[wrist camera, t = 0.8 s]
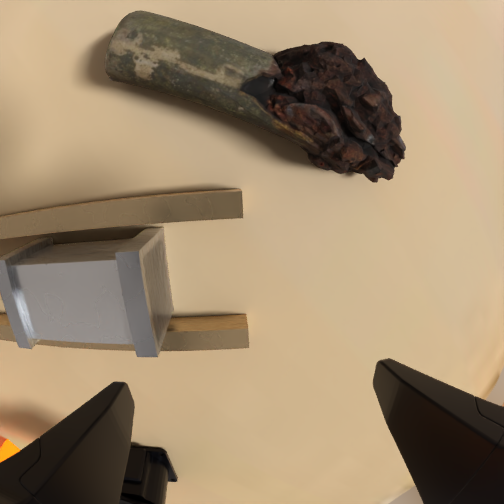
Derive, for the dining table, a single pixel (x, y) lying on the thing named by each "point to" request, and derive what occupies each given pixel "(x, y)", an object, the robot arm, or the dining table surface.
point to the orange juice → (7, 450)
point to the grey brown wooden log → (268, 89)
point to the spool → (90, 291)
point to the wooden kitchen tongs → (137, 213)
